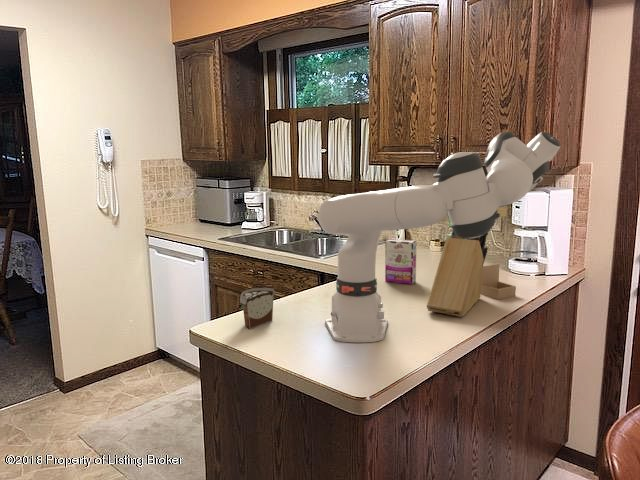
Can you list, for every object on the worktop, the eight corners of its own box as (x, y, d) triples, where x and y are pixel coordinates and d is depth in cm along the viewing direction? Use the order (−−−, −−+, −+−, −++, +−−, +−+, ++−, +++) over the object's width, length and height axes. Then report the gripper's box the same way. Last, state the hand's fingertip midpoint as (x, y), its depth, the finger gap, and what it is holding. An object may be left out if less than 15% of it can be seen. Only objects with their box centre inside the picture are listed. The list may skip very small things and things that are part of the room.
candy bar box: (416, 282, 205) (417, 240, 202) (412, 285, 201) (413, 242, 198) (389, 278, 210) (389, 238, 207) (384, 281, 206) (385, 240, 203)
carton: (515, 295, 185) (516, 268, 183) (497, 299, 181) (499, 271, 180) (496, 290, 193) (498, 263, 191) (479, 293, 189) (481, 266, 187)
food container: (261, 315, 167) (260, 285, 166) (275, 319, 164) (274, 288, 162) (232, 326, 158) (230, 294, 156) (246, 330, 154) (245, 297, 152)
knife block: (488, 292, 190) (492, 206, 185) (461, 320, 161) (465, 220, 155) (457, 288, 196) (460, 205, 190) (425, 315, 166) (428, 217, 160)
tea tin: (506, 216, 183) (508, 187, 181) (497, 217, 181) (498, 188, 179) (496, 214, 187) (497, 186, 185) (487, 215, 185) (488, 187, 183)
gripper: (502, 182, 167) (478, 209, 177) (546, 179, 176) (521, 205, 187) (492, 167, 170) (469, 195, 180) (536, 165, 179) (511, 191, 190)
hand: (496, 200), depth 183 cm, fingers closed on tea tin, 5 cm apart
